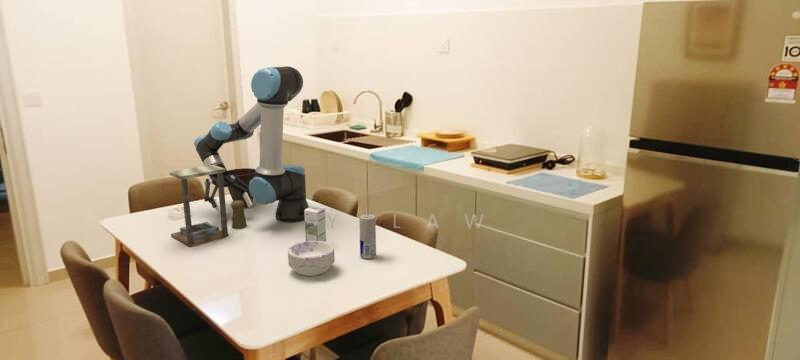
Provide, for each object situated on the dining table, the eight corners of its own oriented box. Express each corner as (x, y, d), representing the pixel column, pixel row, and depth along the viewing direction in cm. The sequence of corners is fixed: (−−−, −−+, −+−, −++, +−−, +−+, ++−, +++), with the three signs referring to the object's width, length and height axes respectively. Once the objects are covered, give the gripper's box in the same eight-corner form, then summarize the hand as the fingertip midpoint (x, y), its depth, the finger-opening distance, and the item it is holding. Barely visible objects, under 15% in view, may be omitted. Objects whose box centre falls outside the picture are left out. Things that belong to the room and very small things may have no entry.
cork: (244, 229, 224) (242, 203, 222) (229, 229, 224) (227, 203, 222) (248, 224, 230) (246, 198, 227) (234, 224, 230) (232, 198, 228)
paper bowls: (314, 284, 173) (313, 260, 171) (279, 273, 181) (277, 251, 179) (344, 267, 186) (343, 245, 184) (309, 258, 194) (308, 237, 192)
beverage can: (378, 254, 197) (377, 214, 193) (372, 260, 192) (371, 219, 188) (363, 252, 199) (363, 213, 195) (357, 258, 193) (356, 217, 190)
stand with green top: (210, 226, 227) (205, 162, 220) (230, 236, 216) (225, 168, 209) (169, 237, 215) (162, 169, 209) (188, 247, 204) (181, 176, 197)
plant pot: (220, 208, 251) (217, 174, 247) (235, 199, 266) (232, 167, 262) (251, 210, 249) (249, 176, 245) (264, 201, 263) (262, 168, 259)
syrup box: (327, 244, 207) (325, 207, 204) (318, 249, 202) (316, 211, 198) (314, 241, 210) (312, 205, 206) (305, 247, 204) (303, 209, 201)
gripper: (239, 168, 244) (260, 208, 237) (184, 178, 227) (204, 221, 220) (245, 158, 239) (265, 198, 232) (189, 167, 222) (209, 211, 215)
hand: (236, 210), depth 226 cm, fingers open, 13 cm apart
